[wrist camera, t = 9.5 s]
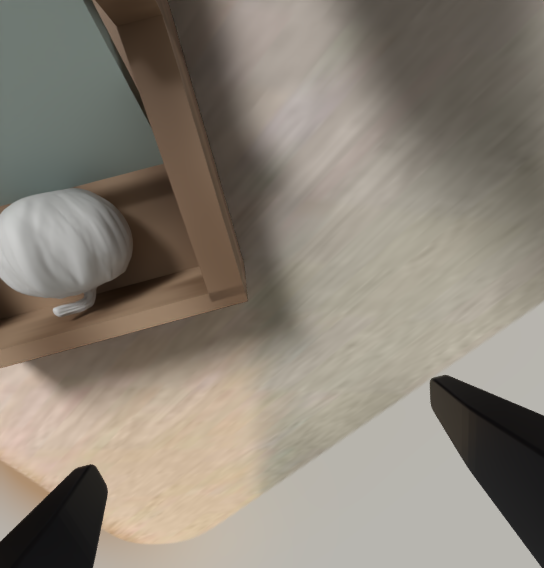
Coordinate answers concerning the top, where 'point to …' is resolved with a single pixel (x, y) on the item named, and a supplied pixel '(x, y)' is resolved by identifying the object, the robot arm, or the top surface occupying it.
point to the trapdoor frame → (146, 211)
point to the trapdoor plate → (65, 101)
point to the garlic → (63, 246)
